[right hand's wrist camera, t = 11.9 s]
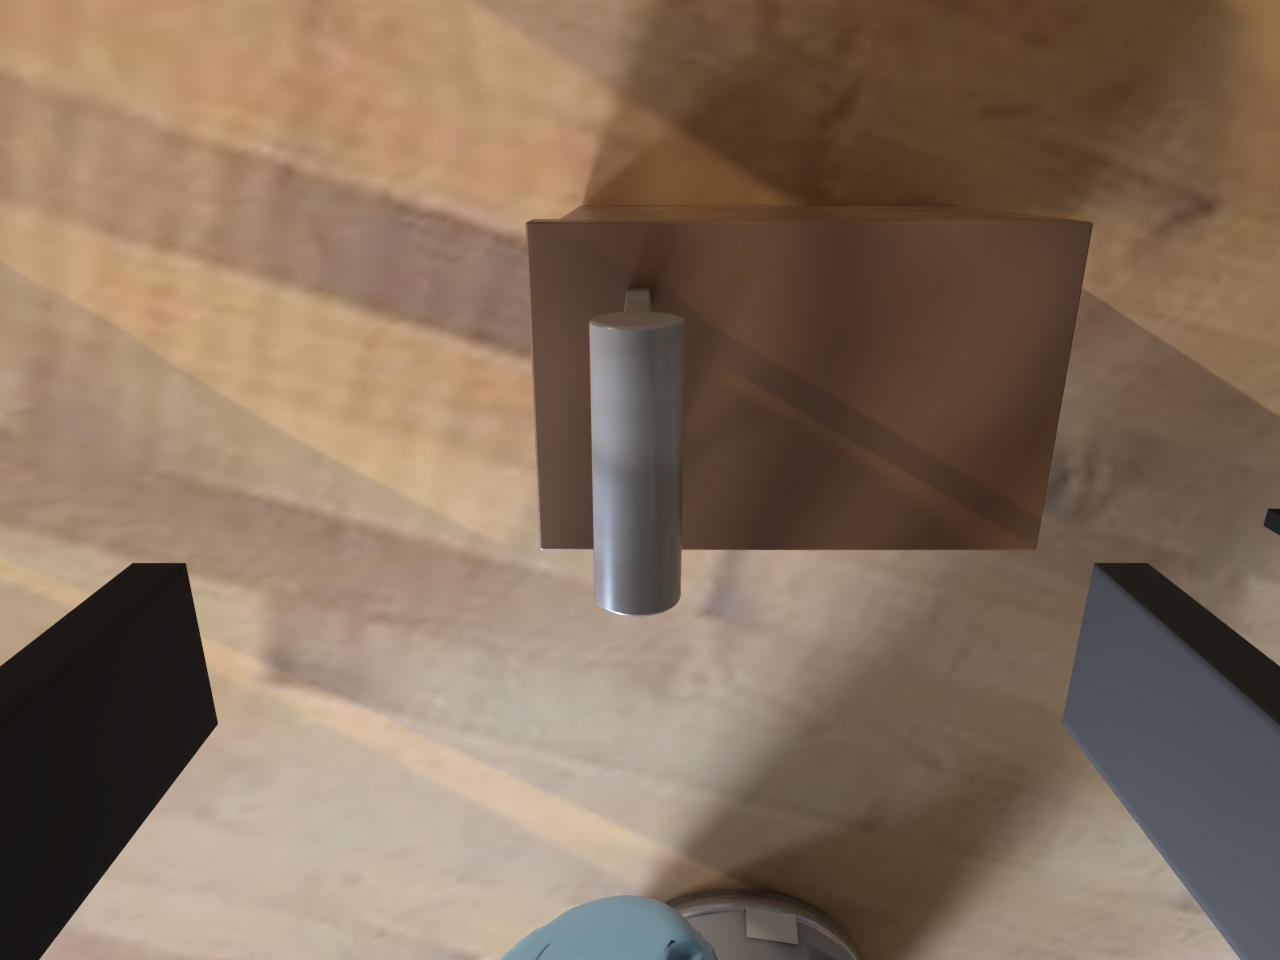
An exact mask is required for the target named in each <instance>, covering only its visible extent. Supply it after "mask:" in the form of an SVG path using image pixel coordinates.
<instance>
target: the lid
mask: <svg viewBox="0 0 1280 960" xmlns="http://www.w3.org/2000/svg"><path fill="white" fill-rule="evenodd" d="M1092 225H1093V224H1092V222H1089V221H1081V220H1072V219H533V220H531V221H528V222H526V242H527V265H528V287H529V310H530V333H531V355H532V378H533V401H534V424H535V446H536V469H537V492H538V514H539V537H540V549H541V550H594V583H595V598H596V600H597V602H598V603H599V605H600V606H602V607H603V608H605V609H606V610H608V611H611V612H613V613H617V614H621V615H627V616H648V615H655V614H659V613H662V612H665V611H667V610H669V609H671V608H672V607H674V606H675V605H676V604H677V602H678V601H679V599H680V596H681V550H1036V547H1037V541H1038V535H1039V529H1040V524H1041V518H1042V512H1043V506H1044V501H1045V495H1046V489H1047V484H1048V478H1049V472H1050V466H1051V461H1052V455H1053V449H1054V443H1055V438H1056V432H1057V426H1058V420H1059V415H1060V409H1061V403H1062V397H1063V392H1064V386H1065V380H1066V374H1067V369H1068V363H1069V357H1070V351H1071V346H1072V340H1073V334H1074V328H1075V323H1076V317H1077V311H1078V306H1079V300H1080V294H1081V288H1082V283H1083V277H1084V271H1085V265H1086V260H1087V254H1088V248H1089V242H1090V237H1091V231H1092Z"/></svg>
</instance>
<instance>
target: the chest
mask: <svg viewBox="0 0 1280 960" xmlns="http://www.w3.org/2000/svg"><path fill="white" fill-rule="evenodd" d="M561 219H1064V218H1056V217H1048V216H1039V215H1031V214H1023V213H1015V212H1006V211H998V210H990V209H982V208H973V207H965V206H580V207H578V208H577V209H575V210H573V211H572V212H570V213H569V214H567V215H566V216H564V217H562V218H561Z"/></svg>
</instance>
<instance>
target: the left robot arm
mask: <svg viewBox="0 0 1280 960" xmlns="http://www.w3.org/2000/svg"><path fill="white" fill-rule="evenodd" d="M1263 526H1265V527H1267V528H1268V529H1270V530H1272V531H1274V532H1275V533H1277V534H1279V535H1280V509H1268V511H1267V515H1266V518H1265V522H1264V525H1263ZM500 960H860V958H859V956H858V953H857V951H856V949H855V947H854V945H853V944H852V942H851V941H850V939H849V938H848V936H847V935H846V934H845V933H844V932H843V930H842V929H841V928H840V927H839V926H838V925H837V924H836V923H834V922H833V921H832V920H831V919H830V918H828V917H827V916H826V915H824V914H823V913H821V912H820V911H818V910H816V909H815V908H813V907H811V906H809V905H807V904H805V903H803V902H801V901H798V900H795V899H793V898H790V897H787V896H783V895H780V894H776V893H771V892H766V891H759V890H750V889H722V890H714V891H707V892H701V893H696V894H692V895H689V896H685V897H682V898H679V899H676V900H674V901H671V902H669V903H666V904H665V903H663V902H660V901H657V900H655V899H651V898H647V897H641V896H615V897H608V898H603V899H599V900H595V901H592V902H589V903H586V904H583V905H581V906H578V907H576V908H573V909H571V910H569V911H567V912H565V913H563V914H561V915H560V916H559V917H558V918H557V919H555V920H554V921H552V922H551V923H549V924H548V925H546V926H544V927H542V928H539V929H536V930H535V931H533V932H532V933H530V934H529V935H528V936H526V937H525V938H524V939H523V940H521V941H520V942H519V943H518V944H516V945H515V946H514V947H513V948H512V949H511V950H510V951H509V952H507V953H506V954H505V955H504V956H503V957H502V958H501V959H500Z"/></svg>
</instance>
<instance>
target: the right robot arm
mask: <svg viewBox="0 0 1280 960" xmlns="http://www.w3.org/2000/svg"><path fill="white" fill-rule="evenodd" d="M217 724H218V722H217V717H216V712H215V707H214V702H213V697H212V692H211V687H210V682H209V677H208V672H207V667H206V662H205V657H204V652H203V647H202V642H201V637H200V632H199V627H198V622H197V617H196V612H195V607H194V602H193V597H192V592H191V587H190V582H189V577H188V572H187V567H186V563H132V564H131V565H130V566H128V567H127V568H126V569H125V570H123V571H122V572H121V573H119V574H118V575H117V576H116V577H114V578H113V579H112V580H110V581H109V582H108V583H107V584H105V585H104V586H103V587H101V588H100V589H99V590H98V591H96V592H95V593H94V594H93V595H91V596H90V597H89V598H87V599H86V600H85V601H84V602H82V603H81V604H80V605H78V606H77V607H76V608H75V609H73V610H72V611H71V612H69V613H68V614H67V615H66V616H64V617H63V618H62V619H60V620H59V621H58V622H57V623H55V624H54V625H53V626H52V627H50V628H49V629H48V630H46V631H45V632H44V633H43V634H41V635H40V636H39V637H37V638H36V639H35V640H34V641H32V642H31V643H30V644H28V645H27V646H26V647H25V648H23V649H22V650H21V651H19V652H18V653H17V654H16V655H14V656H13V657H12V658H11V659H9V660H8V661H7V662H5V663H4V664H3V665H2V666H0V960H39V959H40V958H41V957H42V955H43V954H44V953H45V951H46V950H47V949H48V947H49V946H50V945H51V943H52V942H53V941H54V939H55V938H56V937H57V935H58V934H59V933H60V931H61V930H62V929H63V928H64V926H65V925H66V924H67V922H68V921H69V920H70V918H71V917H72V916H73V914H74V913H75V912H76V910H77V909H78V908H79V906H80V905H81V904H82V902H83V901H84V900H85V898H86V897H87V896H88V895H89V893H90V892H91V891H92V889H93V888H94V887H95V885H96V884H97V883H98V881H99V880H100V879H101V877H102V876H103V875H104V873H105V872H106V871H107V869H108V868H109V867H110V866H111V864H112V863H113V862H114V860H115V859H116V858H117V856H118V855H119V854H120V852H121V851H122V850H123V848H124V847H125V846H126V844H127V843H128V842H129V840H130V839H131V838H132V837H133V835H134V834H135V833H136V831H137V830H138V829H139V827H140V826H141V825H142V823H143V822H144V821H145V819H146V818H147V817H148V815H149V814H150V813H151V811H152V810H153V809H154V808H155V806H156V805H157V804H158V802H159V801H160V800H161V798H162V797H163V796H164V794H165V793H166V792H167V790H168V789H169V788H170V786H171V785H172V784H173V782H174V781H175V780H176V778H177V777H178V776H179V775H180V773H181V772H182V771H183V769H184V768H185V767H186V765H187V764H188V763H189V761H190V760H191V759H192V757H193V756H194V755H195V753H196V752H197V751H198V749H199V748H200V747H201V746H202V744H203V743H204V742H205V740H206V739H207V738H208V736H209V735H210V734H211V732H212V731H213V730H214V728H215V727H216V726H217ZM1062 724H1063V726H1064V727H1065V728H1066V730H1067V731H1068V732H1069V734H1070V735H1071V736H1072V738H1073V739H1074V740H1075V742H1076V743H1077V744H1078V746H1079V747H1080V748H1081V749H1082V751H1083V752H1084V753H1085V755H1086V756H1087V757H1088V759H1089V760H1090V761H1091V763H1092V764H1093V765H1094V767H1095V768H1096V769H1097V771H1098V772H1099V773H1100V775H1101V776H1102V777H1103V778H1104V780H1105V781H1106V782H1107V784H1108V785H1109V786H1110V788H1111V789H1112V790H1113V792H1114V793H1115V794H1116V796H1117V797H1118V798H1119V800H1120V801H1121V802H1122V804H1123V805H1124V806H1125V808H1126V809H1127V810H1128V811H1129V813H1130V814H1131V815H1132V817H1133V818H1134V819H1135V821H1136V822H1137V823H1138V825H1139V826H1140V827H1141V829H1142V830H1143V831H1144V833H1145V834H1146V835H1147V837H1148V838H1149V839H1150V840H1151V842H1152V843H1153V844H1154V846H1155V847H1156V848H1157V850H1158V851H1159V852H1160V854H1161V855H1162V856H1163V858H1164V859H1165V860H1166V862H1167V863H1168V864H1169V866H1170V867H1171V868H1172V869H1173V871H1174V872H1175V873H1176V875H1177V876H1178V877H1179V879H1180V880H1181V881H1182V883H1183V884H1184V885H1185V887H1186V888H1187V889H1188V891H1189V892H1190V893H1191V895H1192V896H1193V897H1194V898H1195V900H1196V901H1197V902H1198V904H1199V905H1200V906H1201V908H1202V909H1203V910H1204V912H1205V913H1206V914H1207V916H1208V917H1209V918H1210V920H1211V921H1212V922H1213V924H1214V925H1215V926H1216V928H1217V929H1218V930H1219V931H1220V933H1221V934H1222V935H1223V937H1224V938H1225V939H1226V941H1227V942H1228V943H1229V945H1230V946H1231V947H1232V949H1233V950H1234V951H1235V953H1236V954H1237V955H1238V957H1239V958H1240V959H1241V960H1280V666H1278V665H1277V664H1276V663H1275V662H1273V661H1272V660H1271V659H1269V658H1268V657H1267V656H1266V655H1264V654H1263V653H1262V652H1261V651H1259V650H1258V649H1257V648H1255V647H1254V646H1253V645H1252V644H1250V643H1249V642H1248V641H1246V640H1245V639H1244V638H1243V637H1241V636H1240V635H1239V634H1237V633H1236V632H1235V631H1234V630H1232V629H1231V628H1230V627H1228V626H1227V625H1226V624H1225V623H1223V622H1222V621H1221V620H1220V619H1218V618H1217V617H1216V616H1214V615H1213V614H1212V613H1211V612H1209V611H1208V610H1207V609H1205V608H1204V607H1203V606H1202V605H1200V604H1199V603H1198V602H1196V601H1195V600H1194V599H1193V598H1191V597H1190V596H1189V595H1187V594H1186V593H1185V592H1184V591H1182V590H1181V589H1180V588H1179V587H1177V586H1176V585H1175V584H1173V583H1172V582H1171V581H1170V580H1168V579H1167V578H1166V577H1164V576H1163V575H1162V574H1161V573H1159V572H1158V571H1157V570H1155V569H1154V568H1153V567H1152V566H1150V565H1149V564H1148V563H1094V567H1093V572H1092V577H1091V582H1090V587H1089V592H1088V597H1087V602H1086V607H1085V612H1084V617H1083V622H1082V627H1081V632H1080V637H1079V642H1078V647H1077V652H1076V657H1075V662H1074V667H1073V672H1072V677H1071V682H1070V687H1069V692H1068V697H1067V702H1066V707H1065V712H1064V717H1063V722H1062Z"/></svg>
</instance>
